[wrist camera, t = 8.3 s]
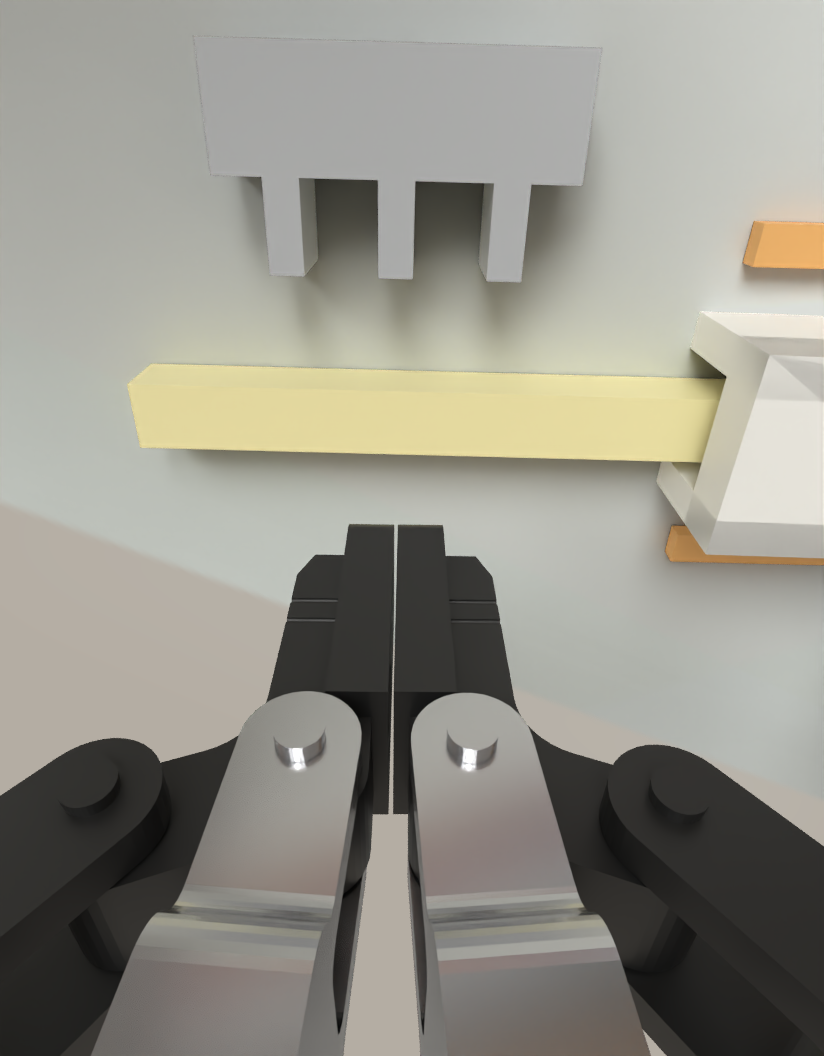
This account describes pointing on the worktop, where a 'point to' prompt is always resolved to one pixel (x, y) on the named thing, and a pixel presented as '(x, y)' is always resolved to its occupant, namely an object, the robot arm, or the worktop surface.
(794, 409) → the sleeve
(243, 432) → the yellow block
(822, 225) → the orange parallel strips
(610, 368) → the worktop surface
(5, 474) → the worktop surface
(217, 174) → the comb
